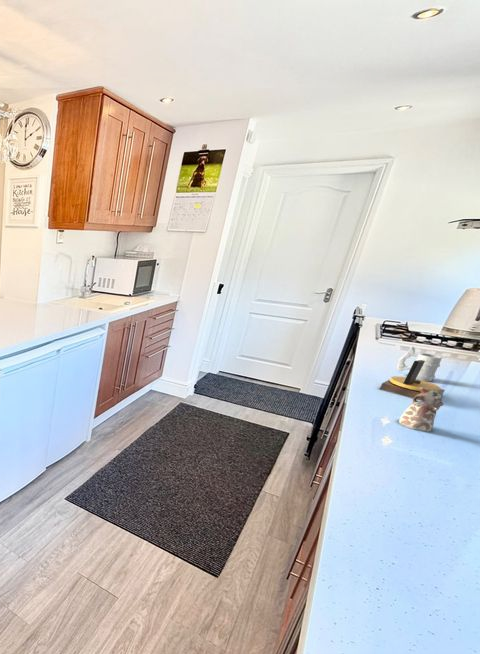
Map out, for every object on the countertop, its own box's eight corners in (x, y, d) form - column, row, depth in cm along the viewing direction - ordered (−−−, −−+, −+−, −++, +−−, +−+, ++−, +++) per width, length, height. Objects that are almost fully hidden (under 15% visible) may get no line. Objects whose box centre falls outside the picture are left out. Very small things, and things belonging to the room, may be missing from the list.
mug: (431, 383, 161) (446, 354, 157) (391, 374, 170) (404, 347, 165) (433, 379, 166) (448, 351, 161) (394, 370, 174) (406, 344, 169)
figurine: (424, 433, 119) (444, 396, 115) (393, 422, 125) (411, 387, 120) (435, 429, 122) (455, 393, 117) (404, 418, 128) (422, 384, 123)
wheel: (445, 395, 141) (460, 368, 137) (395, 386, 147) (408, 360, 143) (431, 384, 151) (444, 359, 147) (385, 376, 157) (397, 352, 153)
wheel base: (441, 396, 148) (445, 389, 147) (431, 403, 141) (435, 396, 140) (390, 383, 159) (393, 377, 158) (379, 389, 152) (382, 383, 151)
